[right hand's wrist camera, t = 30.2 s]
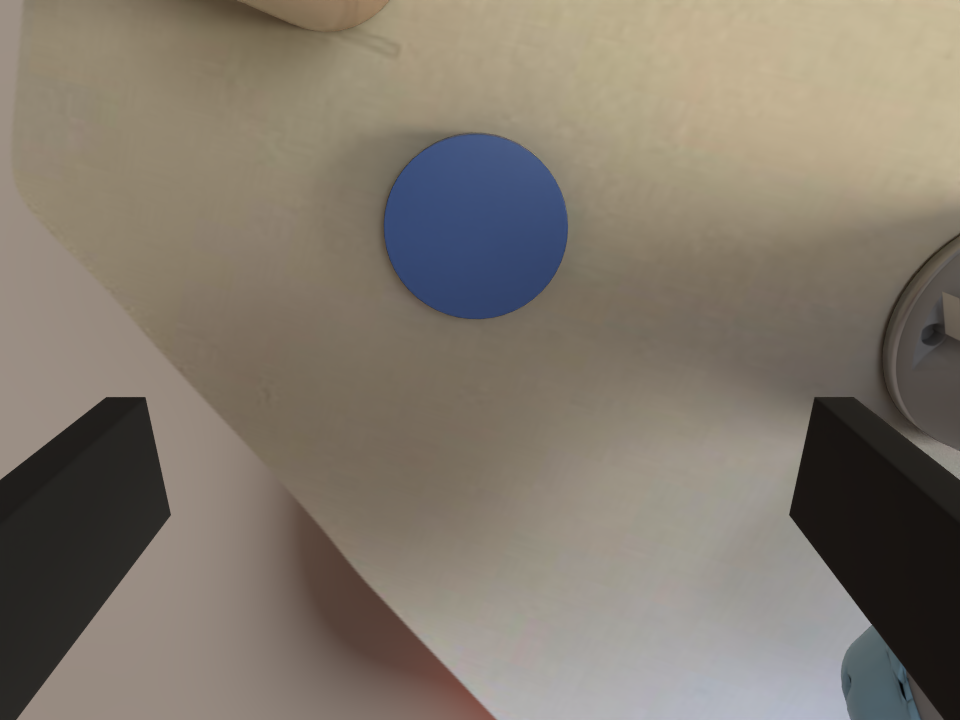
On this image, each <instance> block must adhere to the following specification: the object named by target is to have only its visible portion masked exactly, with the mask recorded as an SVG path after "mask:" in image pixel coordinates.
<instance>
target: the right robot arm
mask: <svg viewBox="0 0 960 720" xmlns="http://www.w3.org/2000/svg"><path fill="white" fill-rule="evenodd" d="M883 373H884V378H885V383H886V386H887V389H888V392H889V394H890V396H891V398H892V400H893V402H894V404H895V405H896V406H897V408H898V409H899V411H900V412H901V413H902V414H903V415H904V416H905V417H906V418H907V419H908V420H909V421H910V422H911V423H913V424H914V425H915V426H917V427H918V428H919V429H921V430H922V431H923V432H925V433H926V434H928V435H929V436H931V437H932V438H934V439H935V440H937V441H939V442H941V443H943V444H946V445H948V446H950V447H952V448H954V449H956V450H959V451H960V236H959V237H957V238H956V239H954V240H953V241H951V242H950V243H949V244H947V245H946V246H945V247H944V248H943V249H941V250H940V251H939V252H938V253H937V254H936V255H934V256H933V257H932V258H931V259H930V260H929V261H928V262H927V263H926V264H925V265H924V266H923V268H922V269H921V270H920V271H919V272H918V273H917V274H916V276H915V277H914V278H913V280H912V281H911V282H910V284H909V285H908V286H907V288H906V290H905V291H904V293H903V294H902V296H901V298H900V299H899V301H898V303H897V305H896V307H895V309H894V311H893V314H892V316H891V318H890V321H889V324H888V327H887V331H886V335H885V340H884V346H883ZM170 515H171V514H170V509H169V504H168V500H167V495H166V491H165V486H164V481H163V477H162V472H161V468H160V463H159V458H158V453H157V449H156V444H155V440H154V435H153V430H152V426H151V421H150V416H149V412H148V407H147V403H146V398H145V397H106V398H105V399H103V400H102V401H101V402H100V403H98V404H97V405H96V406H94V407H93V408H92V409H91V410H89V411H88V412H87V413H86V414H84V415H83V416H82V417H80V418H79V419H78V420H77V421H75V422H74V423H73V424H71V425H70V426H69V427H68V428H66V429H65V430H64V431H62V432H61V433H60V434H59V435H57V436H56V437H55V438H53V439H52V440H51V441H50V442H48V443H47V444H46V445H45V446H43V447H42V448H41V449H39V450H38V451H37V452H36V453H34V454H33V455H32V456H30V457H29V458H28V459H27V460H25V461H24V462H23V463H21V464H20V465H19V466H18V467H16V468H15V469H14V470H12V471H11V472H10V473H9V474H7V475H6V476H5V477H3V478H2V479H1V480H0V720H16V719H17V718H18V717H19V715H20V714H21V713H22V711H23V710H24V709H25V707H26V706H27V705H28V703H29V702H30V701H31V699H32V698H33V697H34V695H35V694H36V693H37V692H38V690H39V689H40V688H41V686H42V685H43V684H44V682H45V681H46V680H47V678H48V677H49V676H50V674H51V673H52V672H53V670H54V669H55V668H56V666H57V665H58V664H59V662H60V661H61V660H62V658H63V657H64V656H65V654H66V653H67V652H68V650H69V649H70V648H71V646H72V645H73V644H74V643H75V641H76V640H77V639H78V637H79V636H80V635H81V633H82V632H83V631H84V629H85V628H86V627H87V625H88V624H89V623H90V621H91V620H92V619H93V617H94V616H95V615H96V613H97V612H98V611H99V609H100V608H101V607H102V605H103V604H104V603H105V601H106V600H107V599H108V597H109V596H110V595H111V594H112V592H113V591H114V590H115V588H116V587H117V586H118V584H119V583H120V582H121V580H122V579H123V578H124V576H125V575H126V574H127V572H128V571H129V570H130V568H131V567H132V566H133V564H134V563H135V562H136V560H137V559H138V558H139V556H140V555H141V554H142V552H143V551H144V550H145V549H146V547H147V546H148V545H149V543H150V542H151V541H152V539H153V538H154V537H155V535H156V534H157V533H158V531H159V530H160V529H161V527H162V526H163V525H164V523H165V522H166V521H167V519H168V518H169V517H170ZM789 515H790V517H791V518H792V519H793V521H794V522H795V523H796V525H797V526H798V527H799V529H800V530H801V531H802V533H803V534H804V535H805V537H806V538H807V539H808V541H809V542H810V543H811V545H812V546H813V547H814V549H815V550H816V551H817V552H818V554H819V555H820V556H821V558H822V559H823V560H824V562H825V563H826V564H827V566H828V567H829V568H830V570H831V571H832V572H833V574H834V575H835V576H836V578H837V579H838V580H839V582H840V583H841V584H842V586H843V587H844V588H845V590H846V591H847V592H848V594H849V595H850V596H851V598H852V599H853V600H854V601H855V603H856V604H857V605H858V607H859V608H860V609H861V611H862V612H863V613H864V615H865V616H866V617H867V619H868V620H869V621H870V623H871V624H872V625H871V626H870V627H869V628H868V629H867V630H866V631H865V632H864V633H863V634H862V635H861V636H860V637H859V638H858V639H857V640H855V641H854V642H853V643H852V645H851V646H850V647H849V649H848V650H847V652H846V654H845V656H844V659H843V662H842V668H841V681H842V690H843V693H844V697H845V700H846V704H847V710H848V713H849V716H850V719H851V720H960V480H959V479H958V478H957V477H955V476H954V475H953V474H951V473H950V472H949V471H948V470H946V469H945V468H944V467H942V466H941V465H940V464H939V463H937V462H936V461H935V460H933V459H932V458H931V457H930V456H928V455H927V454H926V453H924V452H923V451H922V450H921V449H919V448H918V447H917V446H916V445H914V444H913V443H912V442H910V441H909V440H908V439H907V438H905V437H904V436H903V435H901V434H900V433H899V432H898V431H896V430H895V429H894V428H892V427H891V426H890V425H889V424H887V423H886V422H885V421H883V420H882V419H881V418H880V417H878V416H877V415H876V414H875V413H873V412H872V411H871V410H869V409H868V408H867V407H866V406H864V405H863V404H862V403H860V402H859V401H858V400H857V399H855V398H854V397H815V398H814V403H813V407H812V412H811V416H810V421H809V426H808V430H807V435H806V440H805V444H804V449H803V453H802V458H801V463H800V467H799V472H798V477H797V481H796V486H795V490H794V495H793V500H792V504H791V509H790V514H789Z"/></svg>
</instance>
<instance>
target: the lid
mask: <svg viewBox="0 0 960 720" xmlns="http://www.w3.org/2000/svg"><path fill="white" fill-rule="evenodd" d="M567 233H568V221H567V212H566V207H565V202H564V199H563V196H562V193H561V191H560V189H559V187H558V184H557V182H556V180H555V179H554V177H553V176H552V174H551V173H550V171H549V170H548V169H547V168H546V167H545V165H544V164H543V163H542V162H541V161H540V160H539V159H538V158H537V157H536V156H534V155H533V154H532V153H531V152H530V151H529V150H527V149H526V148H524V147H523V146H521V145H519V144H518V143H516V142H514V141H511V140H509V139H507V138H504V137H501V136H497V135H493V134H486V133H466V134H459V135H455V136H451V137H447V138H445V139H443V140H440V141H438V142H436V143H434V144H432V145H431V146H429V147H427V148H426V149H425V150H423V151H422V152H421V153H420V154H418V155H417V156H416V157H415V158H413V159H412V161H411V162H410V163H409V164H408V165H407V166H406V167H405V168H404V169H403V171H402V172H401V174H400V175H399V176H398V178H397V180H396V182H395V184H394V185H393V187H392V190H391V192H390V195H389V198H388V201H387V205H386V210H385V217H384V237H385V243H386V248H387V252H388V255H389V258H390V261H391V263H392V265H393V267H394V269H395V271H396V273H397V275H398V276H399V278H400V279H401V281H402V282H403V283H404V284H405V286H406V287H407V288H408V289H409V290H410V291H411V292H412V293H413V294H414V295H415V296H416V297H417V298H418V299H420V300H421V301H422V302H424V303H425V304H427V305H428V306H430V307H432V308H434V309H435V310H438V311H440V312H443V313H445V314H448V315H452V316H455V317H460V318H467V319H484V318H493V317H497V316H501V315H504V314H507V313H510V312H512V311H515V310H516V309H518V308H520V307H522V306H524V305H525V304H527V303H528V302H530V301H531V300H533V299H534V298H535V297H536V296H537V295H538V294H539V293H540V292H542V290H543V289H544V288H545V287H546V286H547V285H548V283H549V282H550V281H551V279H552V278H553V276H554V275H555V273H556V271H557V269H558V267H559V265H560V263H561V260H562V257H563V254H564V251H565V247H566V242H567Z"/></svg>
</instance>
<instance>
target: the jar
mask: <svg viewBox="0 0 960 720" xmlns="http://www.w3.org/2000/svg"><path fill="white" fill-rule="evenodd" d="M237 1H239V2H242V3H244V4H246V5H248V6H251V7H253V8H255V9H258V10H260V11H262V12H265V13H267V14H269V15H272V16H274V17H276V18H279V19H281V20H283V21H285V22H288V23H290V24H293V25H295V26H298V27H301V28H304V29H309V30H313V31H325V32H329V31H339V30H344V29H348V28H351V27H354V26H356V25H359V24H361V23H363V22H364V21H366V20H368V19H370V18H371V17H372V16H374V15H375V14H376V13H377V12H379V11H380V10H381V9H382V8H383V7H384V6H385V5H386V4H387V2H388V1H389V0H237Z"/></svg>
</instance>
